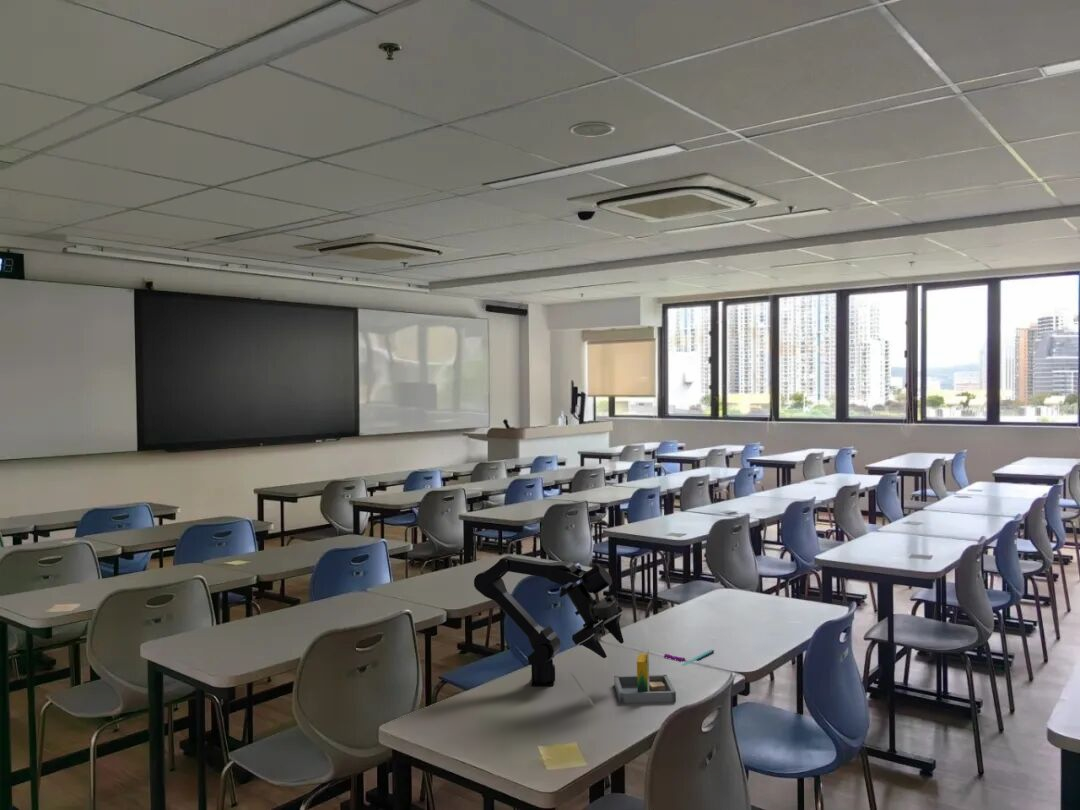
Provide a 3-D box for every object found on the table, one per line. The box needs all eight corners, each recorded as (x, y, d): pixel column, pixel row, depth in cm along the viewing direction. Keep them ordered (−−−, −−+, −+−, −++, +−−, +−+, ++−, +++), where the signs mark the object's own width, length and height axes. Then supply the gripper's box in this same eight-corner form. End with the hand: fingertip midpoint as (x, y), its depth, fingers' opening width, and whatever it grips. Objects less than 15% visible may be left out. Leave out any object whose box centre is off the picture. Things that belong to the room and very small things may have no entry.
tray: (620, 705, 213) (619, 693, 213) (614, 686, 227) (614, 675, 227) (675, 703, 213) (675, 692, 213) (666, 685, 227) (666, 674, 227)
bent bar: (686, 643, 262) (713, 649, 256) (686, 648, 262) (713, 654, 256) (637, 667, 241) (665, 674, 234) (637, 673, 241) (665, 680, 234)
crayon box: (639, 688, 224) (638, 646, 224) (649, 688, 223) (649, 647, 223) (637, 697, 216) (636, 655, 216) (648, 698, 216) (647, 655, 216)
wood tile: (652, 691, 221) (652, 686, 221) (647, 686, 225) (647, 682, 225) (665, 689, 222) (665, 685, 222) (660, 685, 226) (660, 680, 226)
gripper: (583, 604, 215) (615, 655, 212) (619, 578, 229) (649, 625, 226) (558, 619, 221) (589, 669, 218) (594, 593, 236) (623, 639, 233)
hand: (614, 650), depth 224 cm, fingers open, 9 cm apart
